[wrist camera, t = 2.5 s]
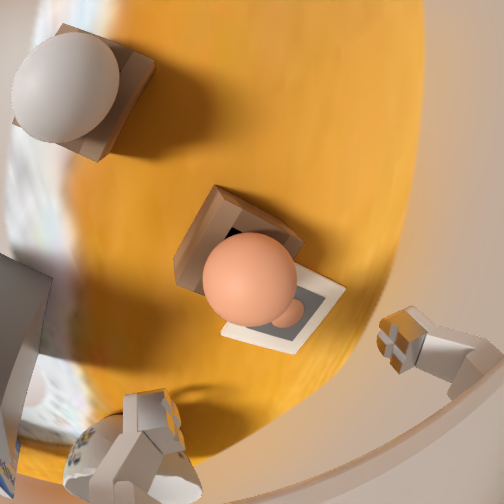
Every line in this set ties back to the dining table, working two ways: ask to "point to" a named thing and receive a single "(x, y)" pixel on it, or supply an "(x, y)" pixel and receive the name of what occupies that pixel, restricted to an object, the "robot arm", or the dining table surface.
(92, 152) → the walnut ball cups
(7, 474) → the medicine box
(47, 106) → the white ball
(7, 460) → the charcoal tube
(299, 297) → the card
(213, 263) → the terracotta ball
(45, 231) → the dining table surface
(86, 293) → the dining table surface
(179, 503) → the teacup
